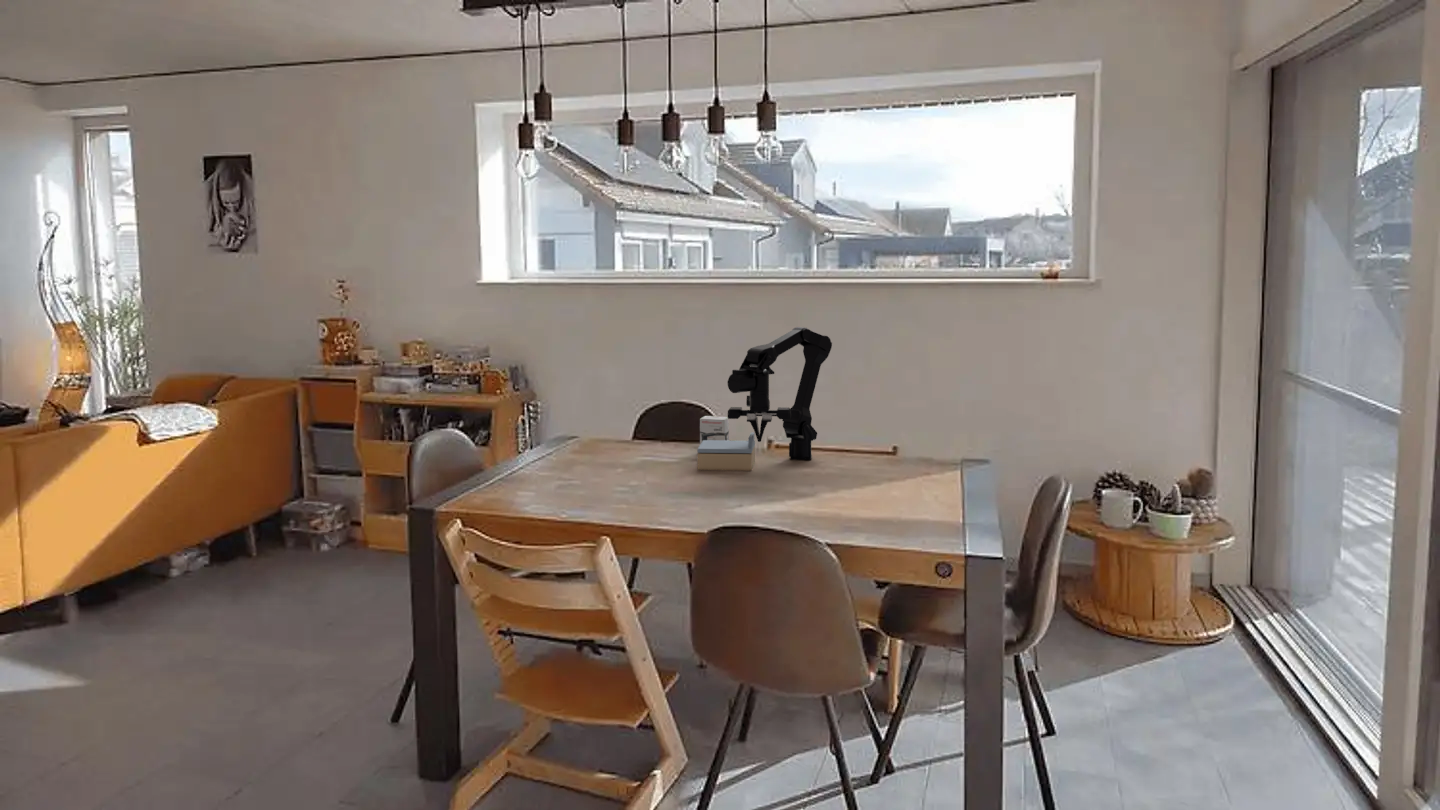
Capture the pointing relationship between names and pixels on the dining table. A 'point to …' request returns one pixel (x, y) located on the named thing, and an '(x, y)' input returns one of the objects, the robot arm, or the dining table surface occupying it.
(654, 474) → the dining table surface
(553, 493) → the dining table surface
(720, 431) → the ink box
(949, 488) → the dining table surface
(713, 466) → the tan shallow open box
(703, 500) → the dining table surface
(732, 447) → the lid
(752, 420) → the robot arm
